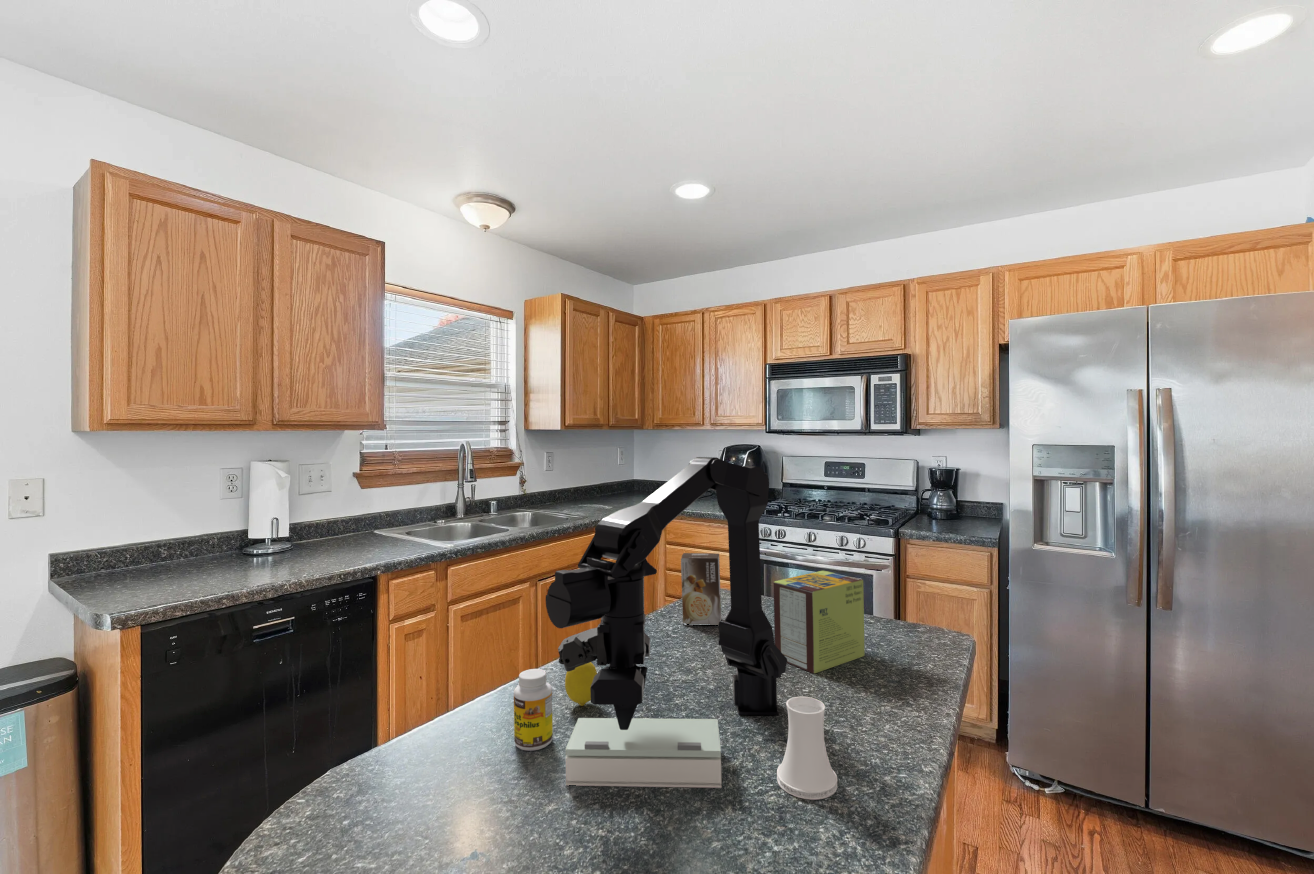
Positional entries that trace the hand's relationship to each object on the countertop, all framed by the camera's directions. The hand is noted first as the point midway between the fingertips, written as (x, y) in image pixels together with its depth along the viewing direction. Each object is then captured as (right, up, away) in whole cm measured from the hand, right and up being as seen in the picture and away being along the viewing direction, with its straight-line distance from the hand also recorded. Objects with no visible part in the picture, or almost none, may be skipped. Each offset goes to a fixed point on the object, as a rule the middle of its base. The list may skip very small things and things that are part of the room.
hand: (624, 728), depth 79 cm
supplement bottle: (-14, -6, +8) cm, 17 cm away
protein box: (+37, -5, +39) cm, 54 cm away
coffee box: (+15, -6, +63) cm, 65 cm away
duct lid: (+3, -2, +1) cm, 4 cm away
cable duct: (+3, -6, +1) cm, 7 cm away
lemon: (-8, -6, +20) cm, 22 cm away
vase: (+24, -6, -3) cm, 25 cm away
